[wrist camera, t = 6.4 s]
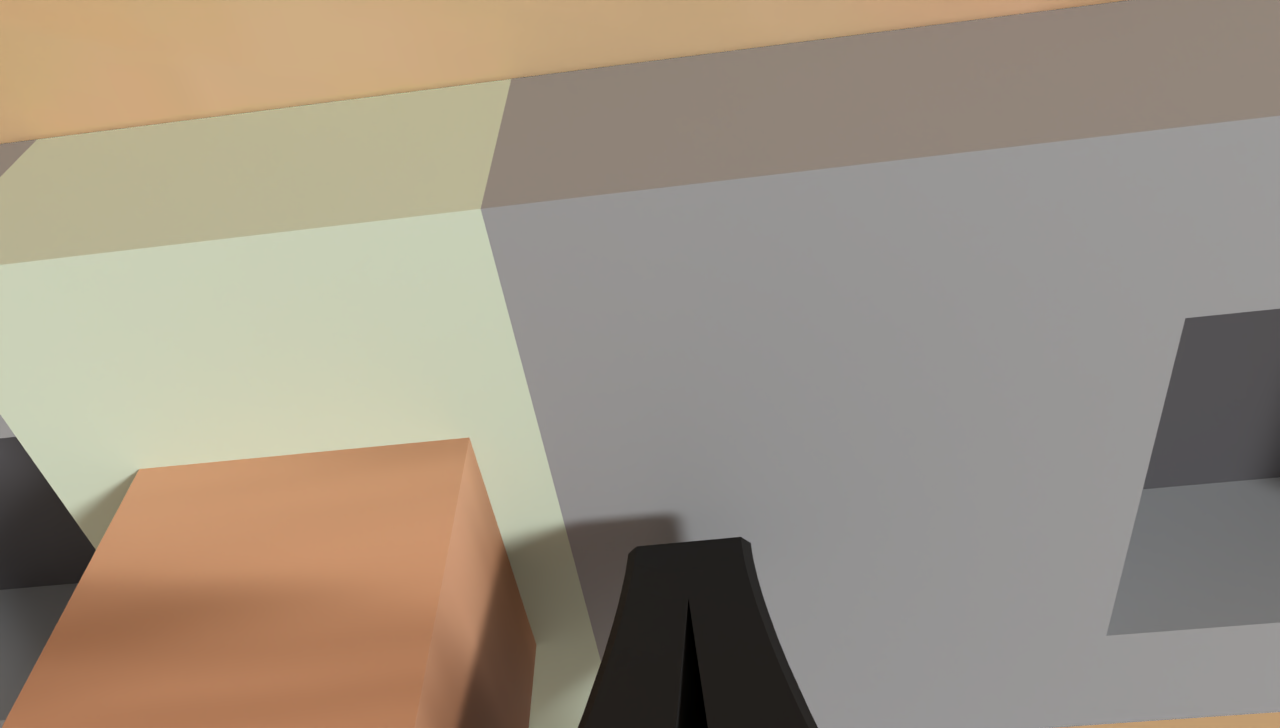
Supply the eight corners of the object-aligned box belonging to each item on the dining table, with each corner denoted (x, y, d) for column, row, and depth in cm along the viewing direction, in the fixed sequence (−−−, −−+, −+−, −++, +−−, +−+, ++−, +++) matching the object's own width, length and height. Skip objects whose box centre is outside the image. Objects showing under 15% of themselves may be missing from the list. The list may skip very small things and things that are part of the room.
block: (536, 645, 14) (507, 953, 11) (260, 666, 15) (159, 970, 12) (469, 437, 12) (407, 760, 9) (139, 468, 12) (-33, 791, 9)
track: (1421, 537, 17) (1540, 693, 15) (-23, 655, 20) (-113, 808, 17) (1737, -77, 11) (2028, 27, 9) (-437, 199, 13) (-663, 342, 11)
